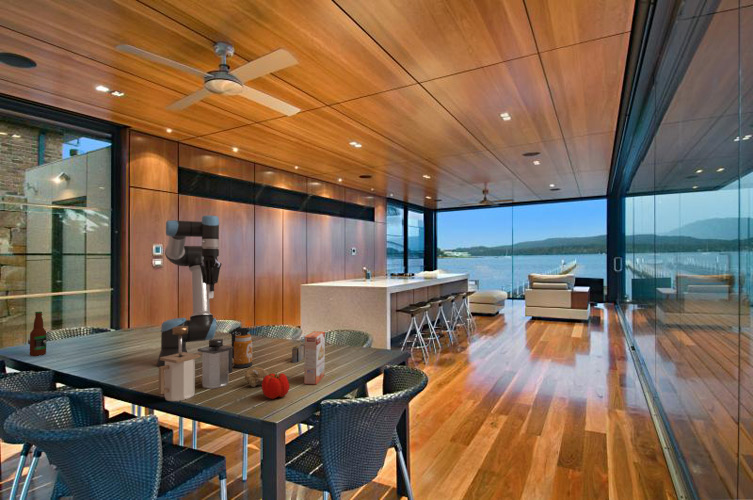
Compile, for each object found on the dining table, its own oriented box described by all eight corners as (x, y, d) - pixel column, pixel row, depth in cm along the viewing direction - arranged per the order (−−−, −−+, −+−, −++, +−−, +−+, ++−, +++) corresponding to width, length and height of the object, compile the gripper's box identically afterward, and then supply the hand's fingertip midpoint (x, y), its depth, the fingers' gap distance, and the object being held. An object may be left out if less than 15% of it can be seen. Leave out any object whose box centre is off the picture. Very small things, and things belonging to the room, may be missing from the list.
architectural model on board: (297, 363, 210) (297, 345, 210) (292, 363, 211) (292, 344, 211) (306, 358, 221) (306, 340, 221) (301, 358, 222) (301, 340, 222)
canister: (246, 369, 198) (246, 328, 199) (226, 368, 201) (226, 328, 201) (255, 364, 207) (255, 325, 208) (236, 363, 209) (236, 325, 210)
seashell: (258, 378, 182) (258, 361, 182) (275, 379, 180) (275, 362, 181) (242, 388, 169) (242, 369, 169) (260, 389, 167) (260, 370, 167)
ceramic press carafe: (151, 401, 154) (151, 359, 154) (183, 390, 166) (183, 352, 166) (168, 405, 149) (168, 362, 149) (199, 394, 161) (200, 354, 161)
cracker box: (317, 385, 172) (317, 336, 173) (303, 384, 173) (303, 336, 174) (325, 375, 186) (325, 330, 187) (313, 375, 187) (312, 330, 188)
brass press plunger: (166, 368, 158) (166, 327, 158) (182, 364, 164) (182, 325, 164) (177, 370, 154) (177, 329, 154) (194, 366, 160) (194, 326, 161)
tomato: (256, 399, 155) (256, 377, 155) (273, 391, 165) (273, 369, 165) (279, 403, 151) (279, 380, 151) (295, 394, 161) (295, 372, 161)
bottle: (38, 356, 227) (39, 312, 228) (26, 356, 227) (26, 312, 228) (49, 353, 234) (50, 310, 235) (37, 353, 234) (37, 311, 235)
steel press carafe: (197, 386, 172) (197, 349, 172) (223, 378, 183) (223, 343, 184) (213, 390, 166) (213, 351, 167) (239, 381, 178) (239, 345, 179)
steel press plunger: (203, 377, 172) (203, 340, 173) (216, 373, 179) (217, 337, 179) (214, 380, 169) (214, 342, 169) (228, 375, 175) (228, 339, 175)
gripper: (194, 248, 189) (194, 298, 188) (213, 247, 182) (212, 299, 182) (207, 248, 195) (207, 297, 195) (226, 248, 189) (226, 298, 188)
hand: (210, 298), depth 188 cm, fingers closed
